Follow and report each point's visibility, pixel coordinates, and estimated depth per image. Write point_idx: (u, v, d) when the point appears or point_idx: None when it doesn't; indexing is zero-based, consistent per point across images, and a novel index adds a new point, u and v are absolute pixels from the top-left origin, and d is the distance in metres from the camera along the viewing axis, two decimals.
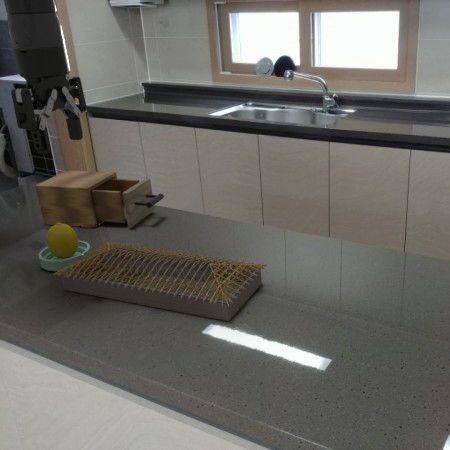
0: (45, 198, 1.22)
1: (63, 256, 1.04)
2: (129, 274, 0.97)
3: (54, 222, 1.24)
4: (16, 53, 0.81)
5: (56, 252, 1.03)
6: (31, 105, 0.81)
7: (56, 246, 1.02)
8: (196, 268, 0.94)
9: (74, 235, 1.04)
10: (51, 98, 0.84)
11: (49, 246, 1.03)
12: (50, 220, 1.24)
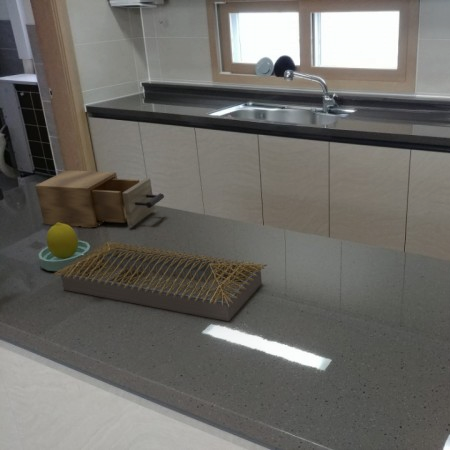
0: (45, 198, 1.22)
1: (63, 256, 1.04)
2: (129, 274, 0.97)
3: (54, 222, 1.24)
4: None
5: (56, 252, 1.03)
6: None
7: (56, 246, 1.02)
8: (196, 268, 0.94)
9: (74, 235, 1.04)
10: None
11: (49, 246, 1.03)
12: (50, 220, 1.24)
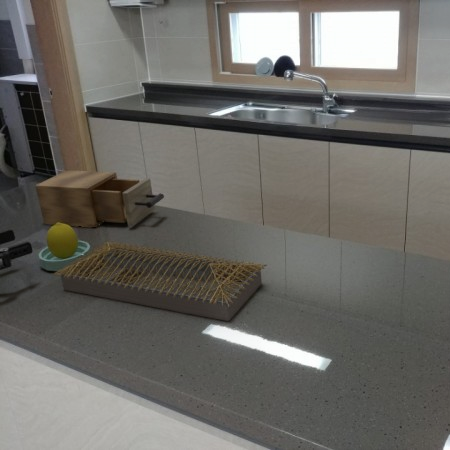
0: (45, 198, 1.22)
1: (63, 256, 1.04)
2: (129, 274, 0.97)
3: (54, 222, 1.24)
4: None
5: (56, 252, 1.03)
6: None
7: (56, 246, 1.02)
8: (196, 268, 0.94)
9: (74, 235, 1.04)
10: None
11: (49, 246, 1.03)
12: (50, 220, 1.24)
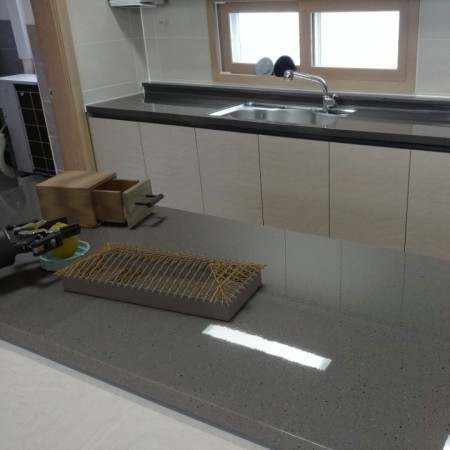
0: (45, 198, 1.22)
1: (63, 256, 1.04)
2: (129, 274, 0.97)
3: None
4: None
5: (56, 252, 1.03)
6: None
7: None
8: (196, 268, 0.94)
9: None
10: None
11: None
12: None
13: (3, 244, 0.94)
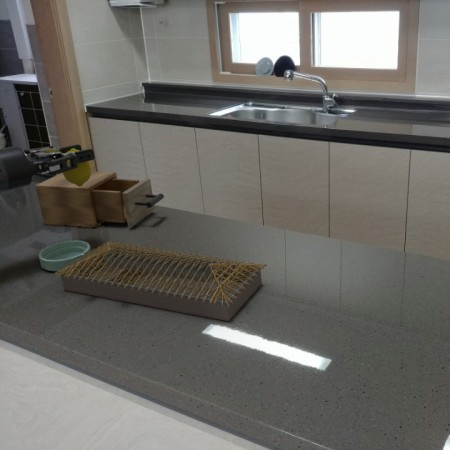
0: (45, 198, 1.22)
1: (77, 181, 1.07)
2: (129, 274, 0.97)
3: (54, 222, 1.24)
4: None
5: (71, 177, 1.06)
6: None
7: (71, 170, 1.06)
8: (196, 268, 0.94)
9: (88, 161, 1.08)
10: None
11: None
12: (50, 220, 1.24)
13: (21, 161, 0.97)
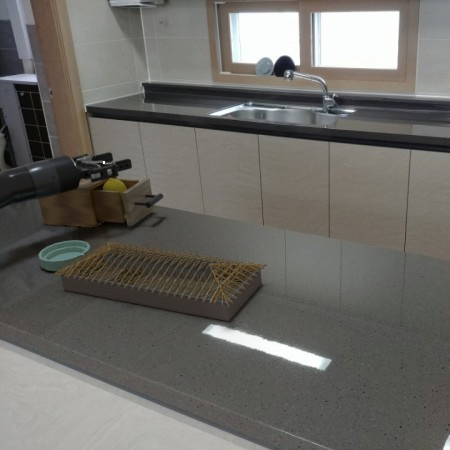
0: (45, 198, 1.22)
1: None
2: (129, 274, 0.97)
3: (54, 222, 1.24)
4: None
5: None
6: None
7: None
8: (196, 268, 0.94)
9: (125, 187, 1.24)
10: None
11: None
12: (50, 220, 1.24)
13: (70, 169, 1.11)
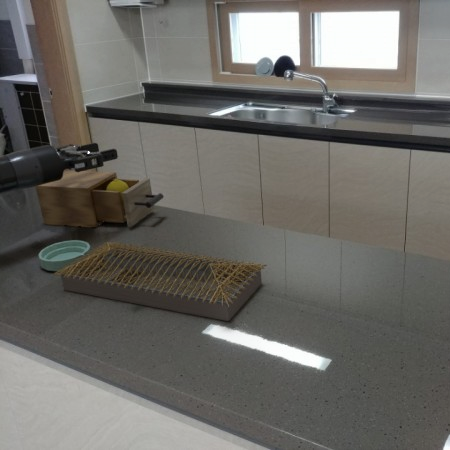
0: (45, 198, 1.22)
1: None
2: (129, 274, 0.97)
3: (54, 222, 1.24)
4: None
5: None
6: None
7: None
8: (196, 268, 0.94)
9: None
10: None
11: None
12: (50, 220, 1.24)
13: (54, 158, 1.08)
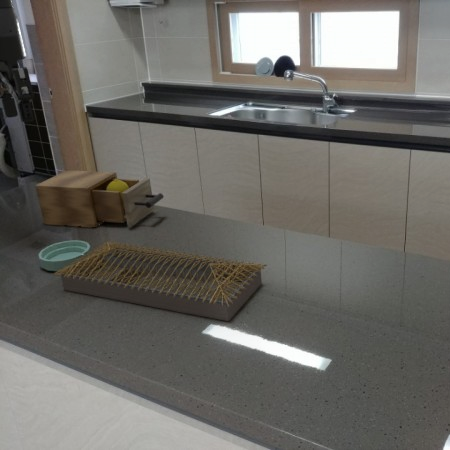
0: (45, 198, 1.22)
1: None
2: (129, 274, 0.97)
3: (54, 222, 1.24)
4: None
5: None
6: None
7: None
8: (196, 268, 0.94)
9: None
10: None
11: None
12: (50, 220, 1.24)
13: (19, 52, 1.02)
